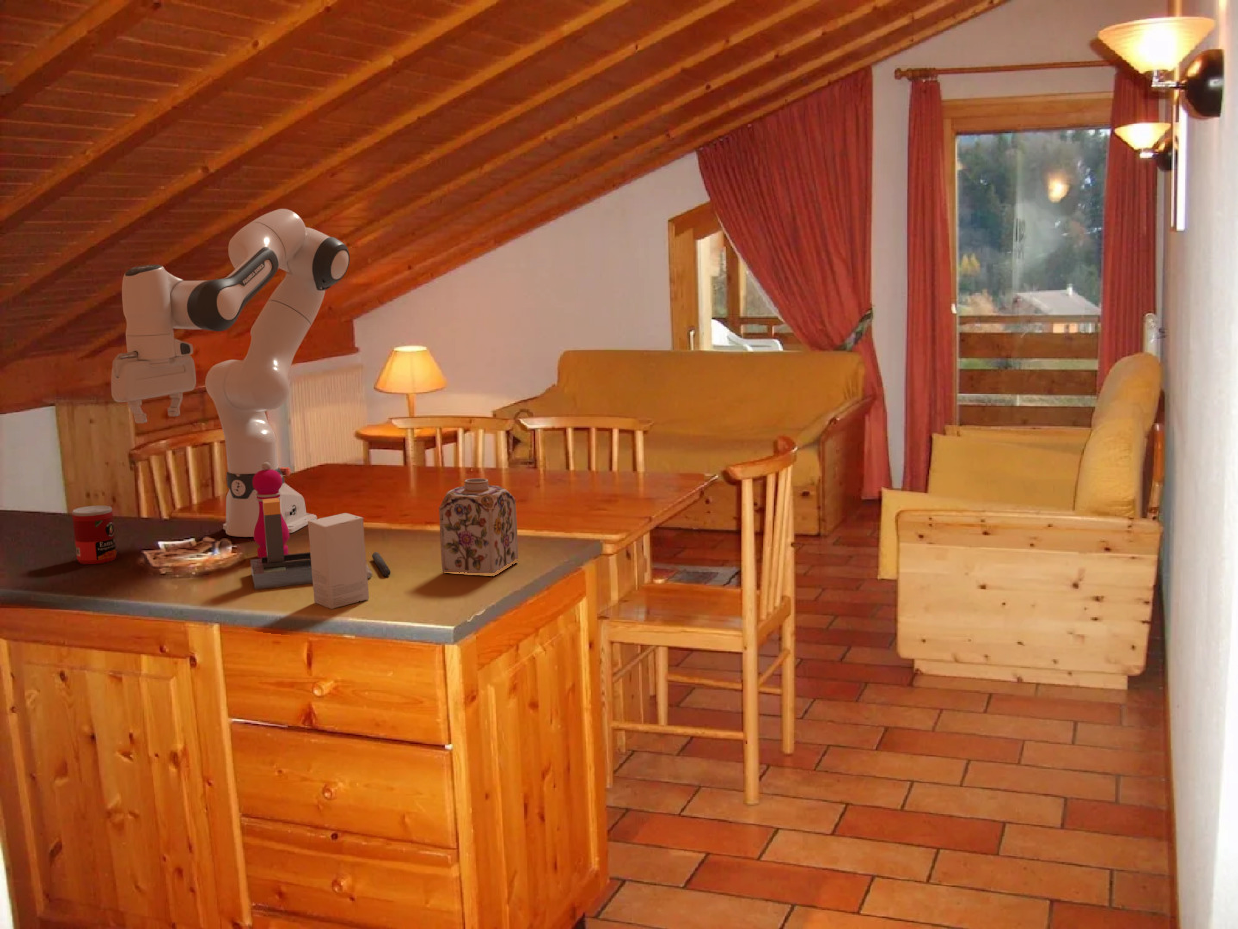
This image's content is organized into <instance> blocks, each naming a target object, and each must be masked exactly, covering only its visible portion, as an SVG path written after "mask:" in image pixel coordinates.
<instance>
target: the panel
mask: <svg viewBox="0 0 1238 929" xmlns="http://www.w3.org/2000/svg"><path fill="white" fill-rule="evenodd" d="M250 571H251V579H252V583H253V587H254V590H261V589H263V590H265V589H272V588H280V587H281V588H282V587H290V586H297V585H298V586H300V585H307V584H313V579H312V566H311V554H310V551H307V552H306V551H305V552H297V553H288V554H286V555H284V561H283V562H273V563H268V562H267V556H266V557H261V558H256V559H254V558H253V559H250Z"/></svg>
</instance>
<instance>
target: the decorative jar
mask: <svg viewBox="0 0 1238 929" xmlns="http://www.w3.org/2000/svg"><path fill="white" fill-rule="evenodd" d="M463 482H464V485H463V486H458V487H454V488H453V489H451V490H448V491H447V492H446V493H445V496H444V498H443V499H442V502H441V504H440V505H439V507H438V514H439V516H438V517H439V537H440V538H439V539H440V541H439V542H440V555H441V556H440V558H441V560H440V561H441V569H442V570H441V572H442V573H443V572H459V573H460V572H464V573H465V572H467V573H495V572H496V571H497V570H500V569H501V568H503V567H504V566H506V565H507V564H510V563H511V562H513V561H514V560H515V559H518V560H519V546H518V545H519V540H518V520H517V505H516V504H517V503H516V502H517V501H516V499H515V497H514V496H513V495H512V494H511V492H510V491H509V490H507V489H506V488H505V487H502V486H499V485H489V479H487V478H482V477H481V478H480V477H479V478H467V479H465V480H464V481H463Z"/></svg>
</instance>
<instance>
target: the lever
mask: <svg viewBox="0 0 1238 929" xmlns="http://www.w3.org/2000/svg"><path fill="white" fill-rule="evenodd" d="M262 500H263V513H264V525H265V538H266V551H267V562H268V563H273V562H283V561H284V549H283V536H282V523H281V510H280V501H279V498H272V499H262Z"/></svg>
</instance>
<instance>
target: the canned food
mask: <svg viewBox="0 0 1238 929" xmlns="http://www.w3.org/2000/svg"><path fill="white" fill-rule="evenodd" d="M71 511H72V513H71V515H72V523H73V524H72V525H73V534H74V542H75V551H76V560H77V561H78V563H79V564H82V565H99V564H105V562H106V563H109V561H110V562H112V561H114V560H115V559H116V558H117V545H116V536H115V524H114V515H113V508H112V507H111V506H109V505H90V506H88V505H87V506H83V507H82V506H81V507H78V508H75V509H73V510H71Z"/></svg>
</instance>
